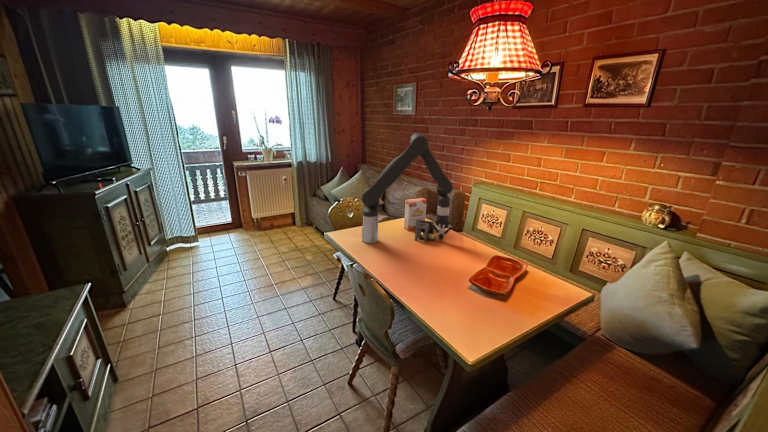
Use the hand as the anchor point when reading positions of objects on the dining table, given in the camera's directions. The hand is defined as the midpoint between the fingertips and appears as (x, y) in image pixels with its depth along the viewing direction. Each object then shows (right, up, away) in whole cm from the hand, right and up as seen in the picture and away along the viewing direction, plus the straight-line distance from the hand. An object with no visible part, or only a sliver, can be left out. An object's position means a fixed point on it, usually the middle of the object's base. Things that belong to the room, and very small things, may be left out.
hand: (441, 239), depth 186 cm
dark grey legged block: (-11, 0, +5) cm, 12 cm away
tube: (-8, 0, +4) cm, 9 cm away
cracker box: (-15, +6, +22) cm, 27 cm away
